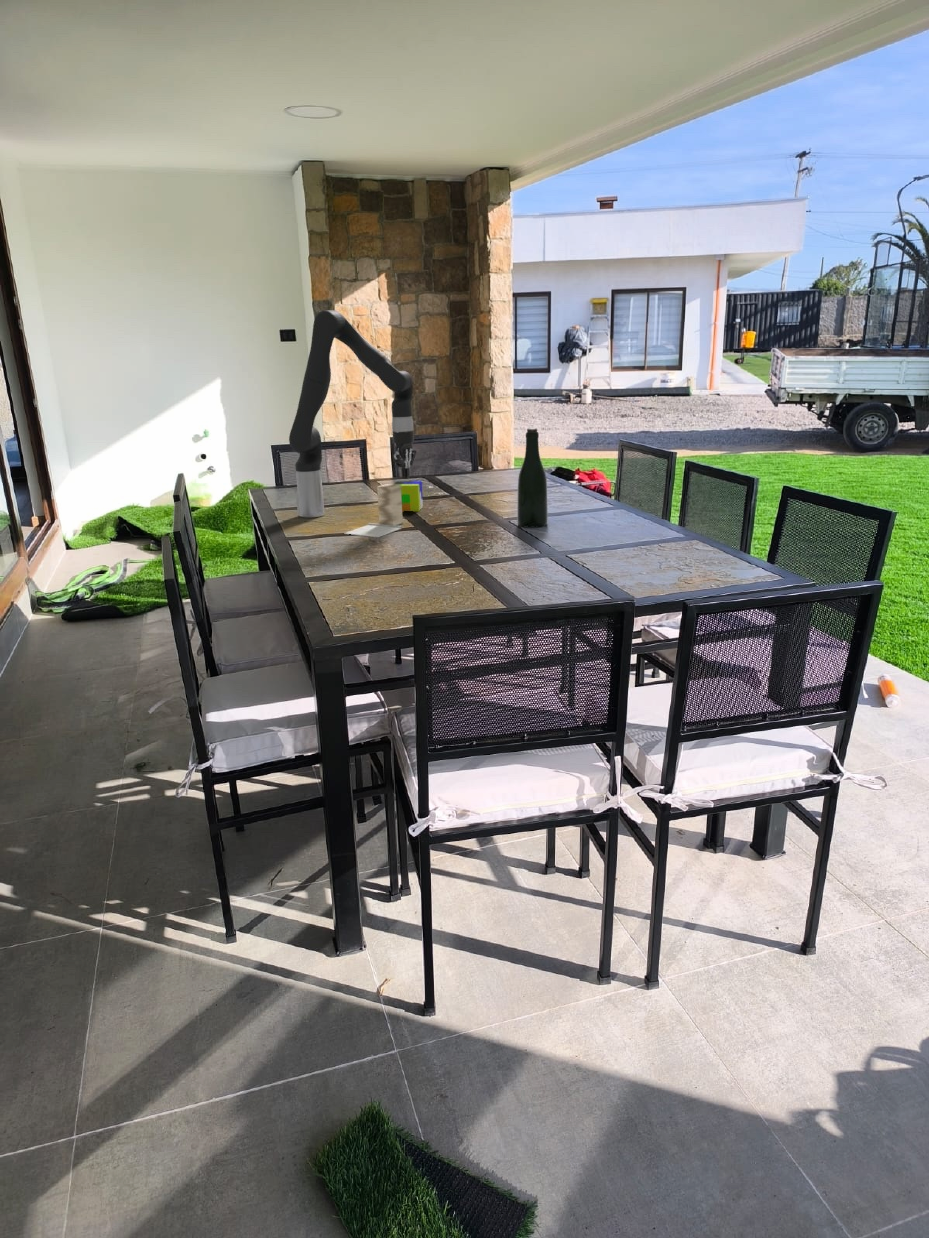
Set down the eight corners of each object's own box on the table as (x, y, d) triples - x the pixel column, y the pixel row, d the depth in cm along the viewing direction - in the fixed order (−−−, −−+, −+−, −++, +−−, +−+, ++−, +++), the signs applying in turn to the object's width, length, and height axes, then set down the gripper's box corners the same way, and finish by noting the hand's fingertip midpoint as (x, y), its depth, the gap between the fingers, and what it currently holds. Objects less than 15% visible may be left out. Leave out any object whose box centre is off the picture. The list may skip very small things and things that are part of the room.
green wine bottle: (513, 527, 289) (512, 429, 278) (522, 521, 298) (522, 426, 287) (542, 528, 285) (542, 430, 274) (551, 522, 294) (551, 426, 283)
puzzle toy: (422, 506, 330) (421, 481, 326) (419, 511, 320) (417, 485, 317) (397, 506, 331) (396, 481, 327) (393, 511, 321) (391, 485, 318)
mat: (344, 534, 286) (344, 531, 286) (369, 525, 299) (369, 523, 299) (378, 537, 280) (378, 535, 280) (402, 528, 292) (402, 526, 292)
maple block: (379, 526, 297) (377, 486, 293) (388, 522, 302) (386, 483, 298) (393, 527, 294) (391, 487, 290) (402, 523, 299) (400, 484, 295)
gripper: (404, 427, 304) (407, 475, 310) (383, 431, 293) (387, 481, 299) (421, 427, 301) (424, 476, 306) (401, 431, 290) (404, 481, 295)
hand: (405, 478), depth 303 cm, fingers closed
